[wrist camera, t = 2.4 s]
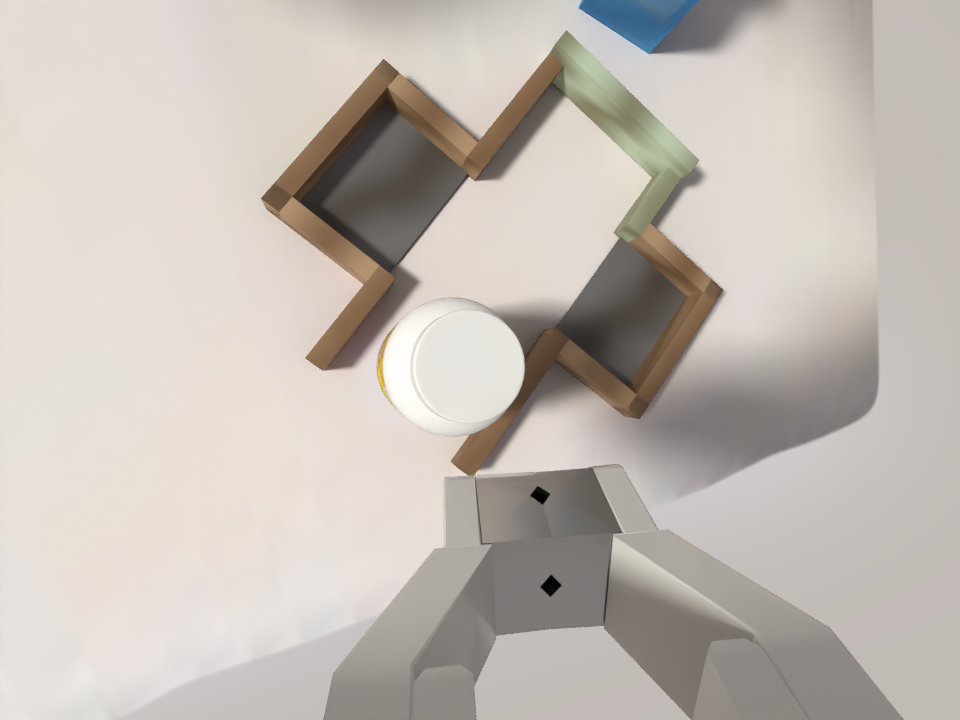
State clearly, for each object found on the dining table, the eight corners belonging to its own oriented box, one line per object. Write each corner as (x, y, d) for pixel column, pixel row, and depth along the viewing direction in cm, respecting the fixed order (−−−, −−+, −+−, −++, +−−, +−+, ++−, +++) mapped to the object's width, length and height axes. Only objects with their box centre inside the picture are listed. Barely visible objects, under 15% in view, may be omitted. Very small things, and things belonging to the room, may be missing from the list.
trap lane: (202, 282, 29) (186, 273, 26) (467, -20, 34) (477, -57, 31) (548, 531, 34) (566, 546, 31) (739, 240, 39) (770, 229, 36)
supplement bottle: (431, 295, 33) (480, 250, 20) (495, 371, 34) (579, 372, 21) (352, 362, 31) (352, 357, 19) (421, 439, 32) (464, 483, 20)
